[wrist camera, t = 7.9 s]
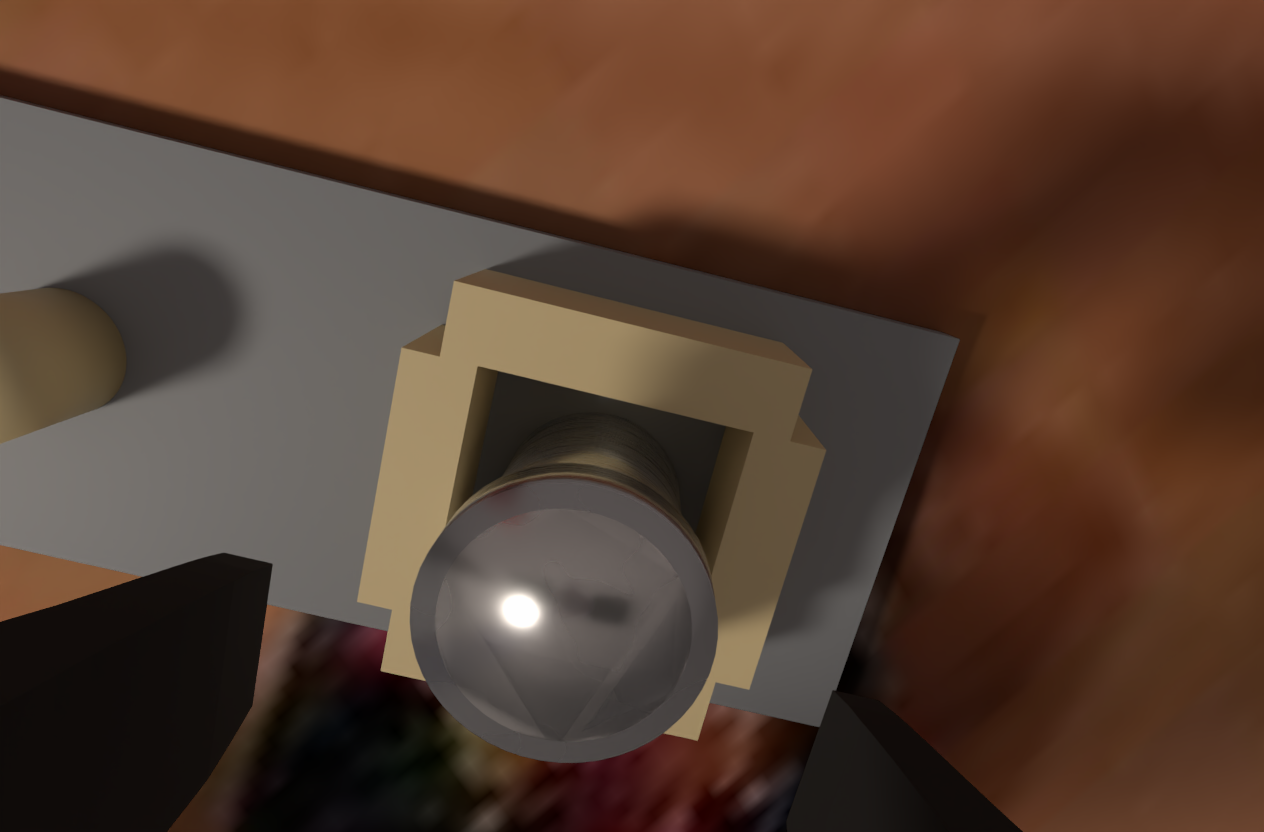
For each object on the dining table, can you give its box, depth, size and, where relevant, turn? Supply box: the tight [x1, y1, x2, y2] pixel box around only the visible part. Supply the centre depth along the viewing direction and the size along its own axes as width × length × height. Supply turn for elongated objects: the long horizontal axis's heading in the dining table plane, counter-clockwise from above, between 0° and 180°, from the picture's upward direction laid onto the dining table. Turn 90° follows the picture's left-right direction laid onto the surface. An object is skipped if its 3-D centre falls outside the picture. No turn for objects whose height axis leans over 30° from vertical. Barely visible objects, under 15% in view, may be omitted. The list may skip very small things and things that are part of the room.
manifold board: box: [0, 95, 960, 741], centre depth 17 cm, size 10×24×4 cm, turn 76°
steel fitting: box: [410, 412, 718, 763], centre depth 15 cm, size 5×5×6 cm
